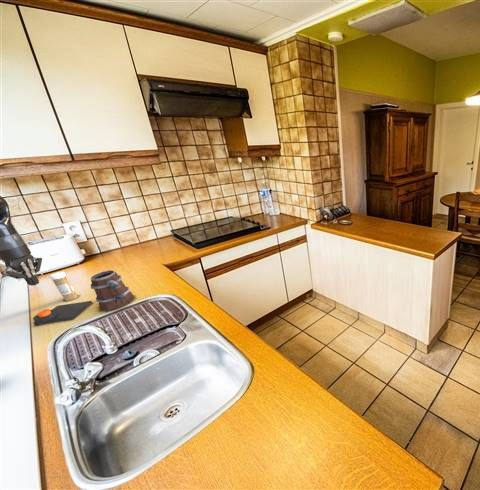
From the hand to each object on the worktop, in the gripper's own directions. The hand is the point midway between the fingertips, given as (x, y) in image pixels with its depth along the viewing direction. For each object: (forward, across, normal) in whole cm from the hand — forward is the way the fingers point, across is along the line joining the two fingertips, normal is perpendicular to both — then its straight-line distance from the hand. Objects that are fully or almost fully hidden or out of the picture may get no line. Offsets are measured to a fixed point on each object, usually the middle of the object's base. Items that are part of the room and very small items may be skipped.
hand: (34, 284), depth 108 cm
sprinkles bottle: (+15, -13, -4) cm, 20 cm away
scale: (+15, 0, +5) cm, 16 cm away
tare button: (+13, +4, +1) cm, 13 cm away
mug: (+15, -4, +24) cm, 29 cm away
